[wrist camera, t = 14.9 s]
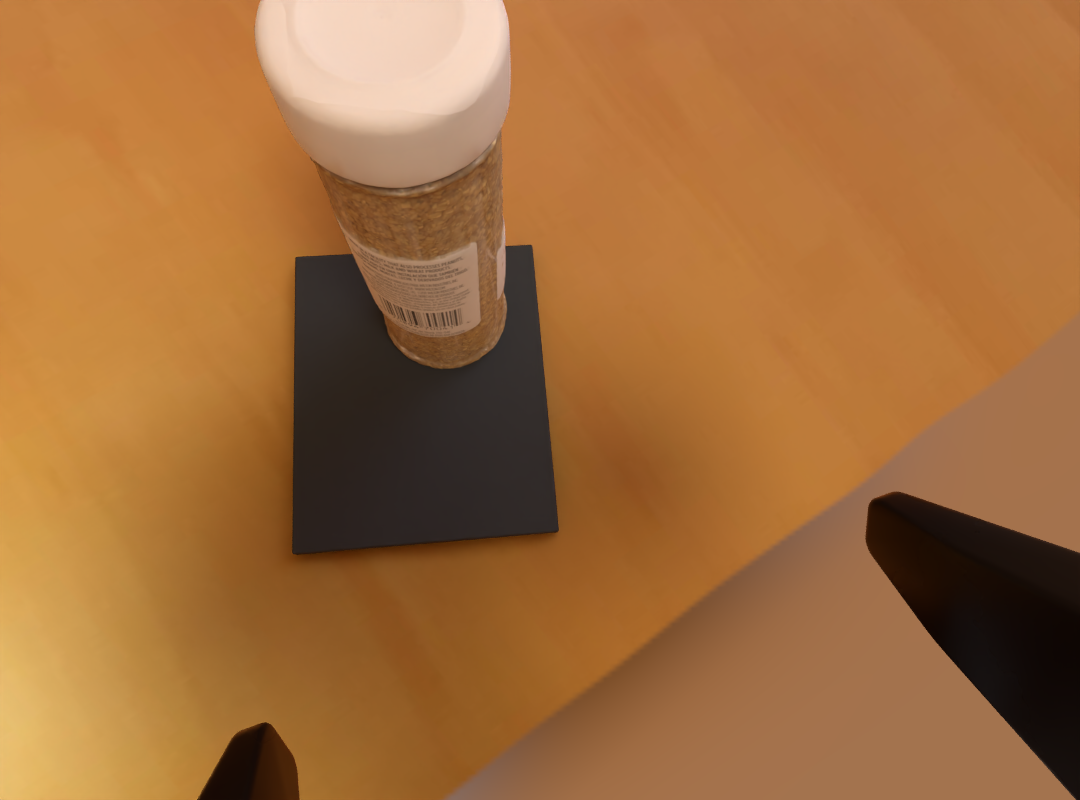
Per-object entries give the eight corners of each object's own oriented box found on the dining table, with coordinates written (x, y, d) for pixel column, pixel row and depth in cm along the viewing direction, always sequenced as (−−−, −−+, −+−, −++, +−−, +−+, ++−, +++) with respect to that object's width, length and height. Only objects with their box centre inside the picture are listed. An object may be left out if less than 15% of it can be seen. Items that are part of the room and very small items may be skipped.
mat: (557, 532, 23) (558, 531, 22) (296, 554, 22) (291, 554, 22) (531, 250, 26) (532, 244, 25) (299, 262, 25) (294, 256, 25)
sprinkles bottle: (527, 291, 25) (555, -25, 12) (471, 394, 24) (433, 167, 11) (420, 240, 25) (334, -123, 12) (359, 339, 24) (192, 54, 11)
